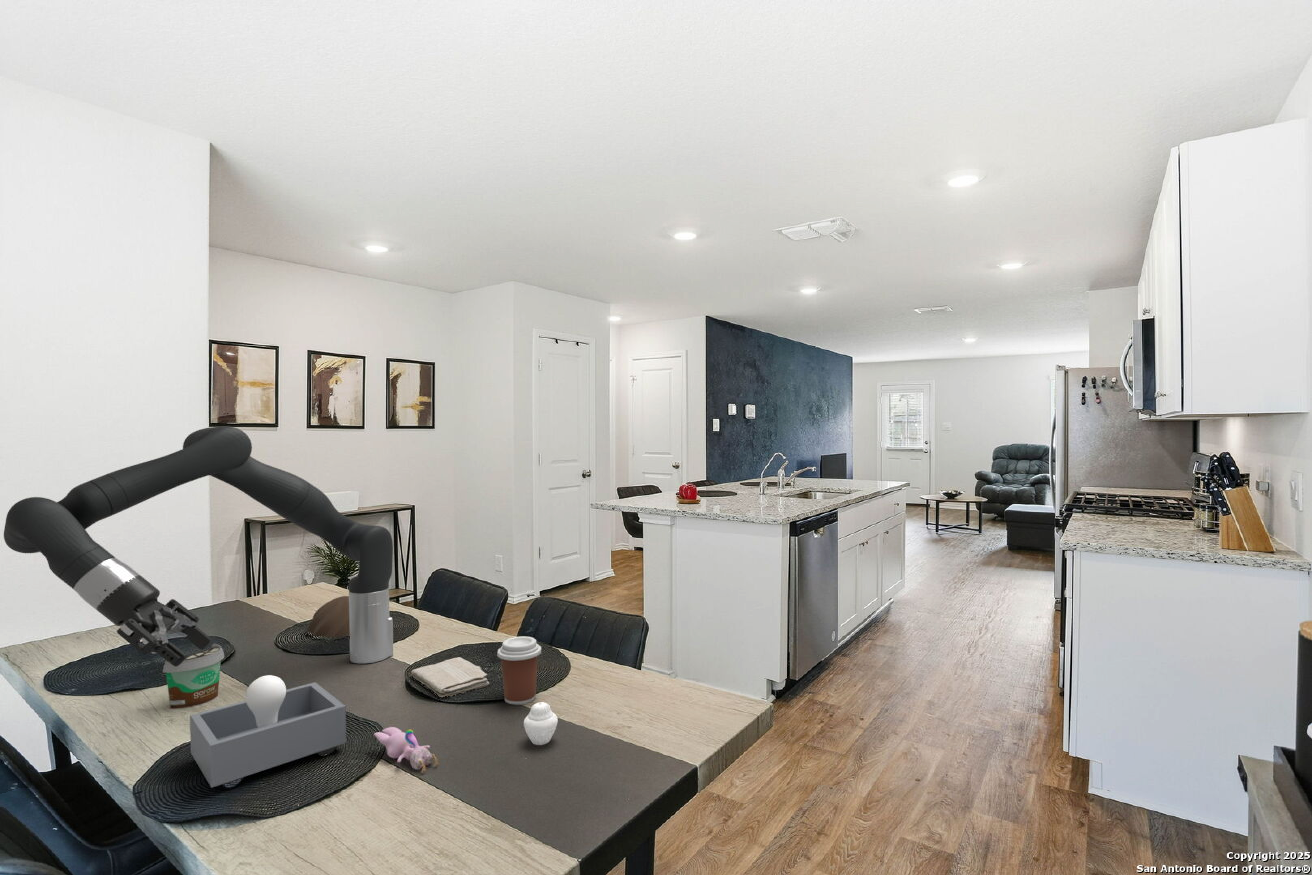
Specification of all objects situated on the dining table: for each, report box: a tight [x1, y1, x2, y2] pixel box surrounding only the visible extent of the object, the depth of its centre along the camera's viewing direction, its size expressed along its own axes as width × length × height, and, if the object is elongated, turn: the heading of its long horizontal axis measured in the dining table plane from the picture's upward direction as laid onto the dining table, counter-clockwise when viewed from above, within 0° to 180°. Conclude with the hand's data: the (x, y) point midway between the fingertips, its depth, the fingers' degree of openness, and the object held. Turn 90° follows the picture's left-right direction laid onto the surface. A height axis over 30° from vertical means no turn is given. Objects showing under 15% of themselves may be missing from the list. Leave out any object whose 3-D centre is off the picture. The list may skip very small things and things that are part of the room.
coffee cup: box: [496, 635, 542, 706], centre depth 136 cm, size 9×9×12 cm
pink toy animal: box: [373, 726, 439, 774], centre depth 112 cm, size 6×6×15 cm
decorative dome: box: [306, 595, 350, 637], centre depth 186 cm, size 19×20×10 cm
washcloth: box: [410, 656, 490, 698], centre depth 147 cm, size 12×18×3 cm, turn 43°
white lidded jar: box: [523, 701, 559, 746], centre depth 117 cm, size 6×6×7 cm
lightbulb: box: [244, 674, 287, 729], centre depth 113 cm, size 6×6×11 cm
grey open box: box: [189, 681, 347, 789], centre depth 113 cm, size 20×16×8 cm
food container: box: [162, 643, 225, 709], centre depth 138 cm, size 12×6×10 cm, turn 168°
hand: (195, 653), depth 111 cm, fingers open, 8 cm apart
